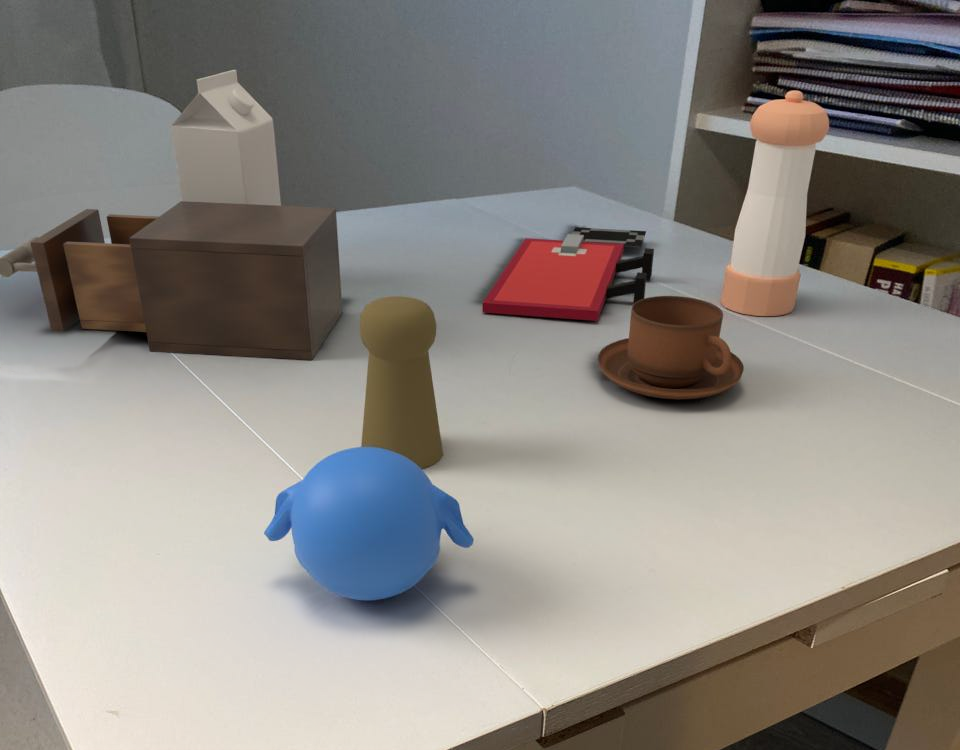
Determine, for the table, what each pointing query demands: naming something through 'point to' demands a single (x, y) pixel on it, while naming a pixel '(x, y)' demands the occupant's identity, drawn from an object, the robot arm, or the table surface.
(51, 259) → the drawer
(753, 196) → the pepper shaker
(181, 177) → the milk carton
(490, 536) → the table surface
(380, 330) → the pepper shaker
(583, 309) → the red board with handle
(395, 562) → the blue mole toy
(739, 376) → the cup and saucer
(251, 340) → the cabinet
